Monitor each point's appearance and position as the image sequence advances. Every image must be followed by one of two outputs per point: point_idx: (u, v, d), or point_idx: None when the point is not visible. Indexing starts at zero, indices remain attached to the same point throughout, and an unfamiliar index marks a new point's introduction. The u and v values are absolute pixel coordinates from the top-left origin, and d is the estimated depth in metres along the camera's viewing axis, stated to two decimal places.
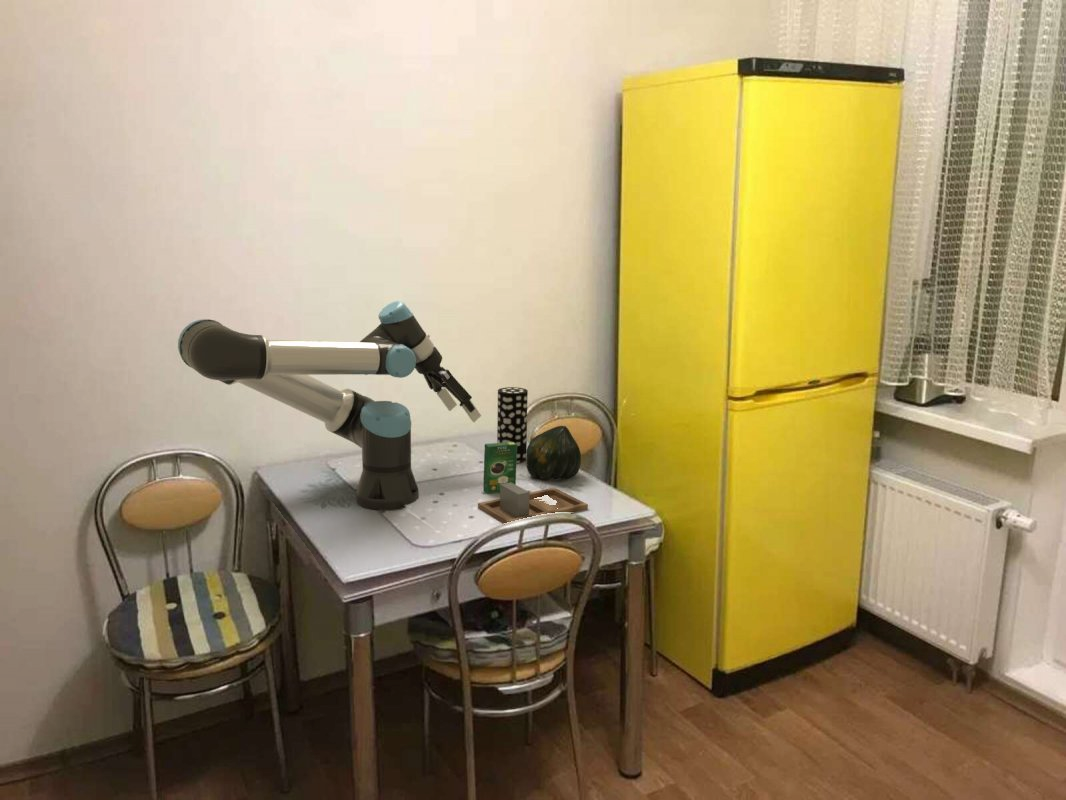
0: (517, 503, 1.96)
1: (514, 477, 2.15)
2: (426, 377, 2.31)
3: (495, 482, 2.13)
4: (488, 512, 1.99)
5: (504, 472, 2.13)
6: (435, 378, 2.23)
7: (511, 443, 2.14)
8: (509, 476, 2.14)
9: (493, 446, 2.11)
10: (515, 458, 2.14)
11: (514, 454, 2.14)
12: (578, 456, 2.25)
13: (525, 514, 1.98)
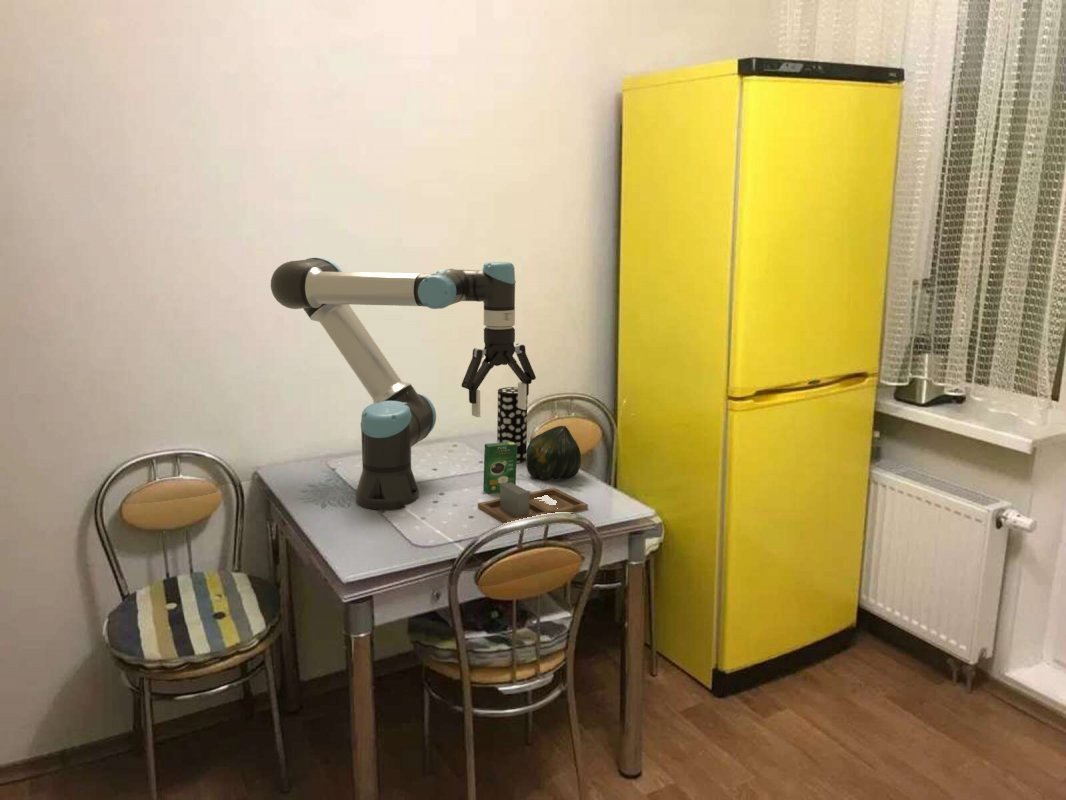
0: (517, 503, 1.96)
1: (514, 477, 2.15)
2: None
3: (495, 482, 2.13)
4: (488, 512, 1.99)
5: (504, 472, 2.13)
6: None
7: (511, 443, 2.14)
8: (509, 476, 2.14)
9: (493, 446, 2.11)
10: (515, 458, 2.14)
11: (514, 454, 2.14)
12: (578, 456, 2.25)
13: (525, 514, 1.98)
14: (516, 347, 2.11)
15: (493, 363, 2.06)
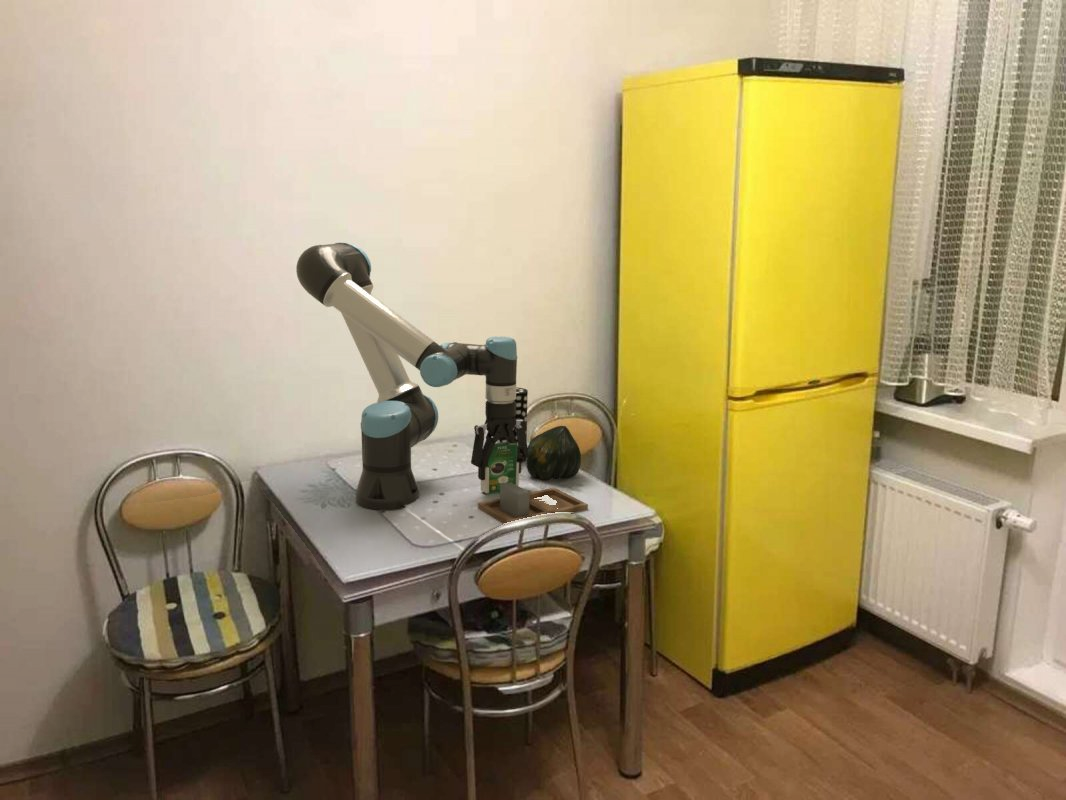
0: (517, 503, 1.96)
1: (514, 477, 2.15)
2: None
3: (495, 482, 2.13)
4: (488, 512, 1.99)
5: (504, 472, 2.13)
6: None
7: (511, 443, 2.14)
8: (509, 476, 2.14)
9: None
10: (515, 458, 2.14)
11: (514, 454, 2.14)
12: (578, 456, 2.25)
13: (525, 514, 1.98)
14: (517, 421, 2.14)
15: (496, 437, 2.10)
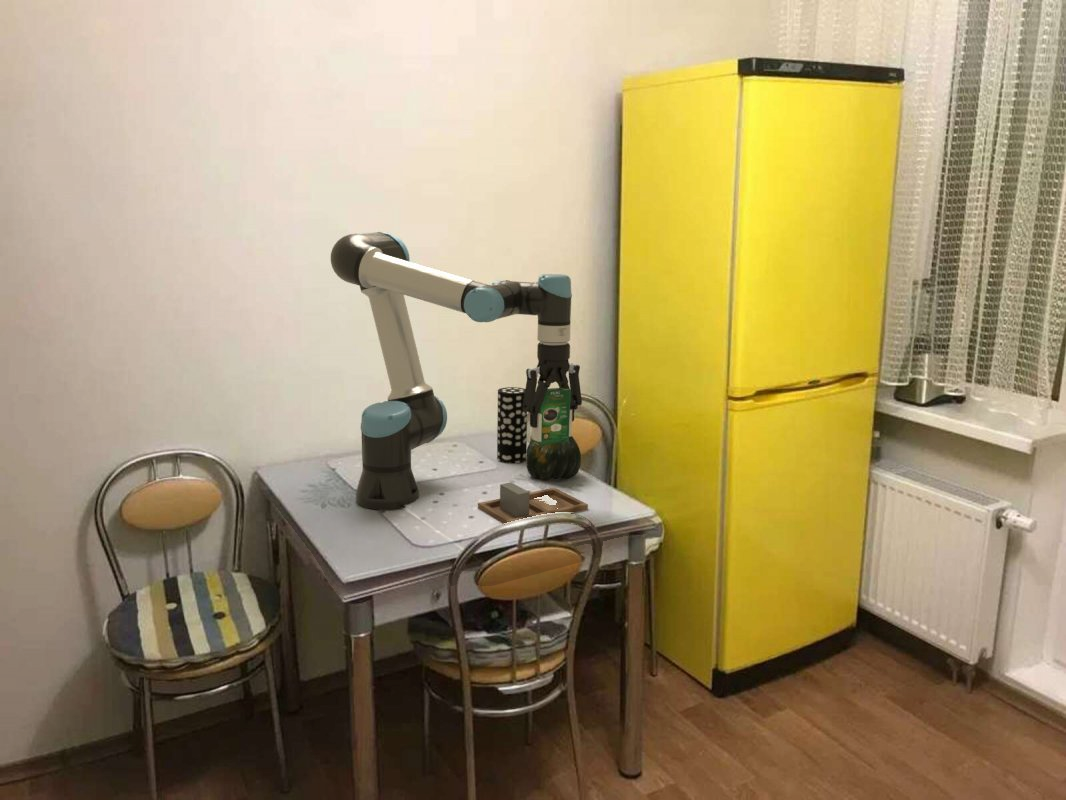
0: (517, 503, 1.96)
1: (568, 425, 2.02)
2: (569, 380, 2.04)
3: (547, 430, 2.00)
4: (488, 512, 1.99)
5: (557, 419, 2.01)
6: None
7: None
8: (562, 424, 2.01)
9: None
10: (568, 404, 2.01)
11: (567, 400, 2.01)
12: (578, 456, 2.25)
13: (525, 514, 1.98)
14: (571, 366, 2.01)
15: (549, 382, 1.97)
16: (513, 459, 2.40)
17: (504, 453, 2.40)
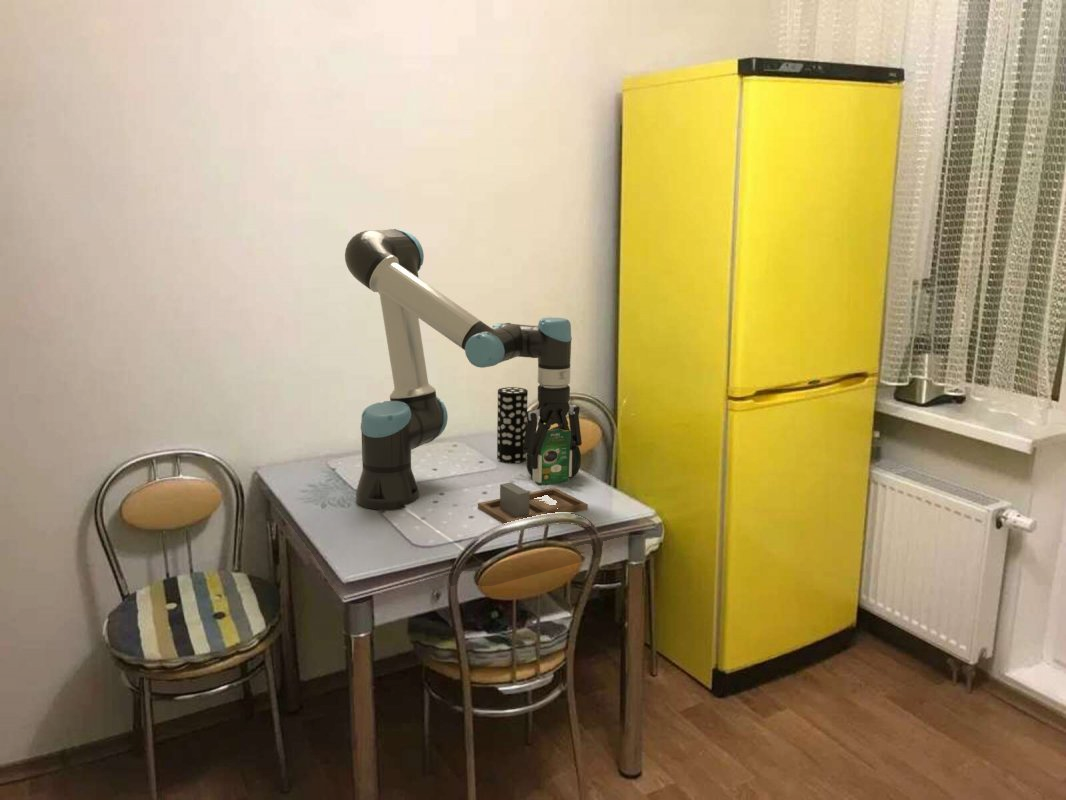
0: (517, 503, 1.96)
1: (568, 466, 2.04)
2: (569, 420, 2.06)
3: (547, 470, 2.02)
4: (488, 512, 1.99)
5: (557, 460, 2.03)
6: None
7: (564, 430, 2.03)
8: (562, 465, 2.04)
9: None
10: (568, 445, 2.03)
11: (567, 441, 2.03)
12: (578, 456, 2.25)
13: (525, 514, 1.98)
14: (571, 407, 2.03)
15: (549, 424, 1.99)
16: (513, 459, 2.40)
17: (504, 453, 2.40)
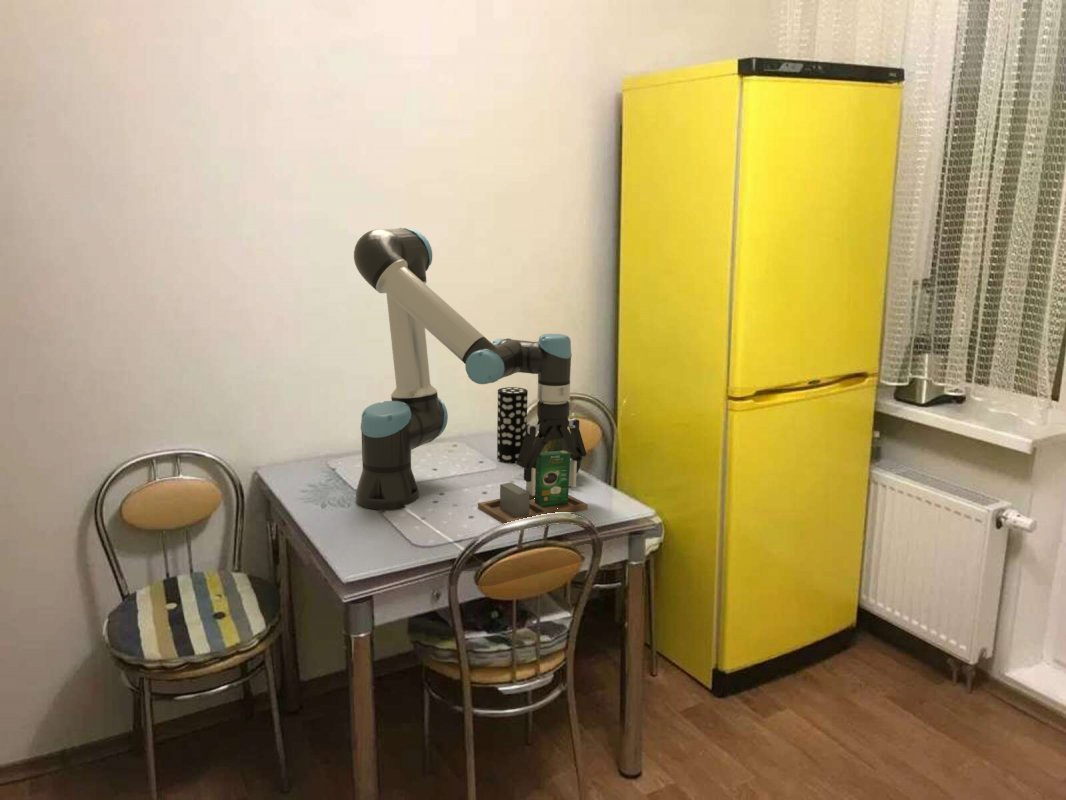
0: (517, 503, 1.96)
1: (567, 488, 2.06)
2: None
3: (547, 492, 2.04)
4: (488, 512, 1.99)
5: (557, 482, 2.04)
6: None
7: (564, 452, 2.04)
8: (562, 487, 2.05)
9: (546, 455, 2.01)
10: (568, 467, 2.05)
11: (567, 463, 2.04)
12: None
13: (525, 514, 1.98)
14: (570, 421, 2.04)
15: (547, 439, 2.00)
16: (513, 459, 2.40)
17: (504, 453, 2.40)
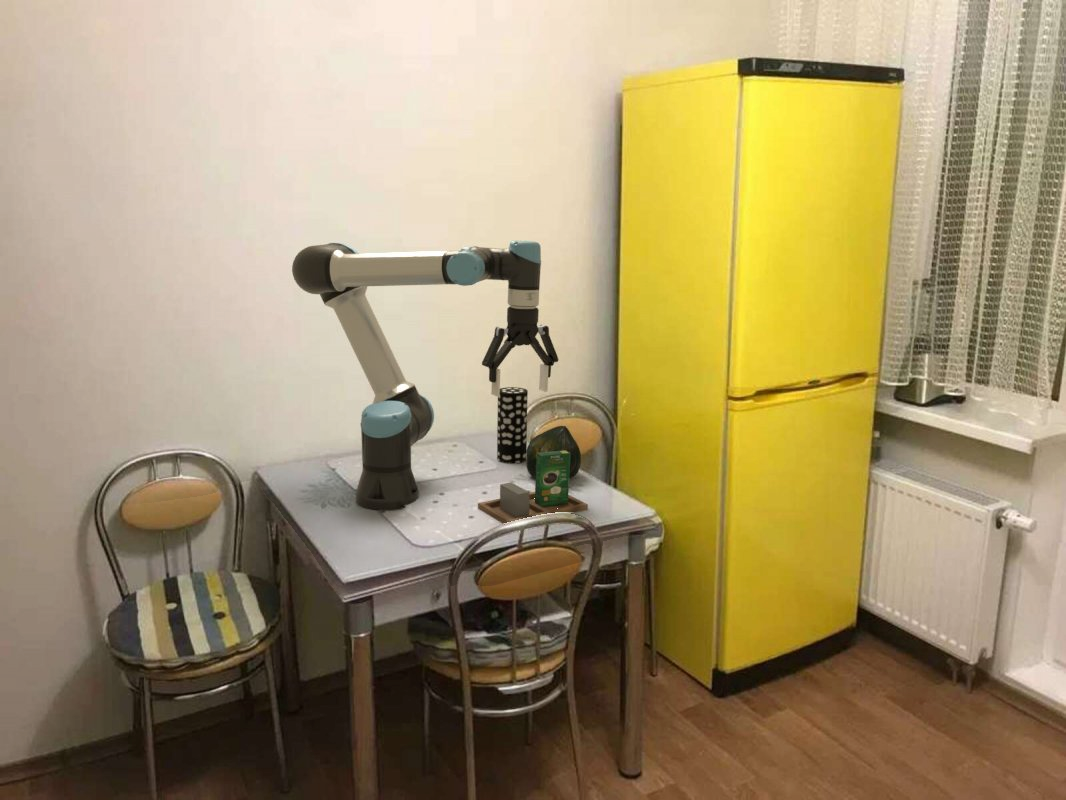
0: (517, 503, 1.96)
1: (567, 487, 2.06)
2: (542, 340, 2.12)
3: (547, 492, 2.04)
4: (488, 512, 1.99)
5: (557, 482, 2.04)
6: None
7: (564, 452, 2.04)
8: (562, 487, 2.05)
9: (546, 455, 2.01)
10: (568, 467, 2.05)
11: (567, 463, 2.04)
12: (578, 456, 2.25)
13: (525, 514, 1.98)
14: (539, 328, 2.09)
15: (515, 343, 2.05)
16: (513, 459, 2.40)
17: (504, 453, 2.40)
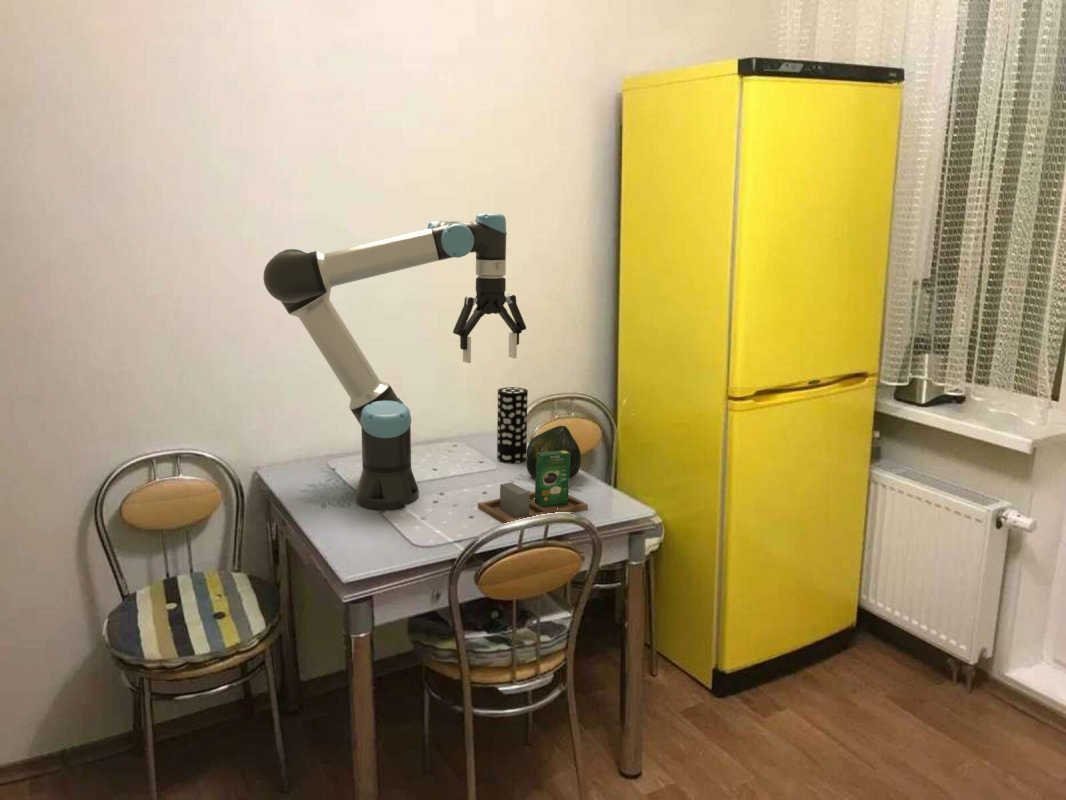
0: (517, 503, 1.96)
1: (567, 487, 2.06)
2: None
3: (547, 492, 2.04)
4: (488, 512, 1.99)
5: (557, 482, 2.04)
6: None
7: (564, 452, 2.04)
8: (562, 487, 2.05)
9: (546, 455, 2.01)
10: (568, 467, 2.05)
11: (567, 463, 2.04)
12: (578, 456, 2.25)
13: (525, 514, 1.98)
14: (507, 297, 2.19)
15: (484, 311, 2.14)
16: (513, 459, 2.40)
17: (504, 453, 2.40)
